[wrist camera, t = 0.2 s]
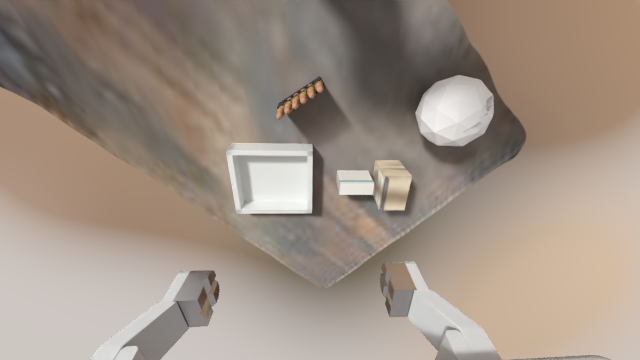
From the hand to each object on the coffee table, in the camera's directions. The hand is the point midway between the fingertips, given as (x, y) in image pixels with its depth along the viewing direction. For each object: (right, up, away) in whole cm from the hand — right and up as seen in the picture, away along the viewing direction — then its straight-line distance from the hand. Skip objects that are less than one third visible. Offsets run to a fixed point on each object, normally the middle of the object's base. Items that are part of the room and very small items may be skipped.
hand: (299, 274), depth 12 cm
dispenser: (+18, +6, +51) cm, 55 cm away
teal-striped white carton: (+9, +6, +51) cm, 52 cm away
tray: (-11, +6, +50) cm, 52 cm away
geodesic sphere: (+28, +22, +44) cm, 56 cm away
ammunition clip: (-3, +23, +41) cm, 48 cm away
